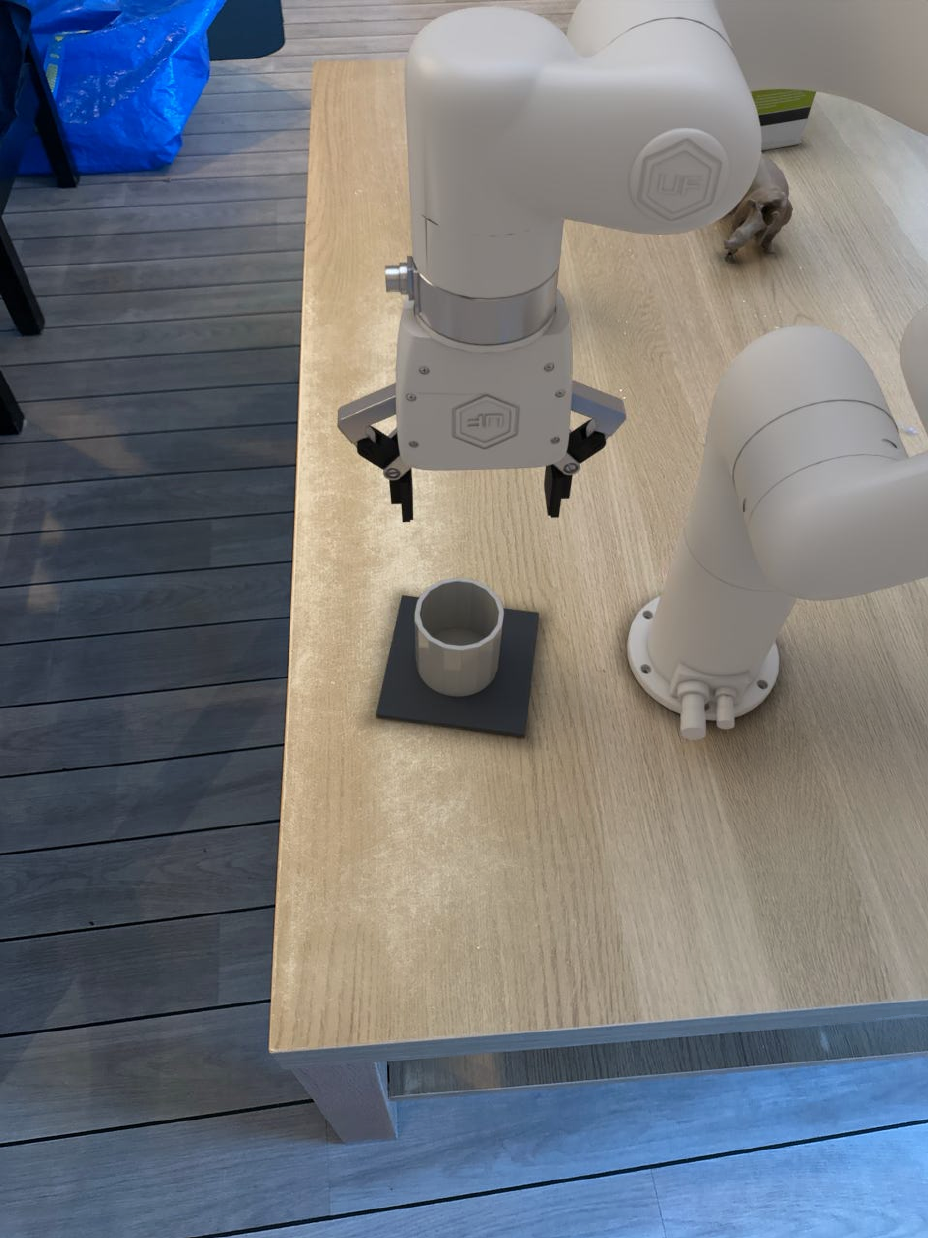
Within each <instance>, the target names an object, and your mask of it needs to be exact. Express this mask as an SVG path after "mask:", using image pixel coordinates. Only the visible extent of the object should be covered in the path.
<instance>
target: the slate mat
mask: <svg viewBox="0 0 928 1238" xmlns="http://www.w3.org/2000/svg"><path fill="white" fill-rule="evenodd" d="M419 598H420V596H412V595H404V594H402V595H401V599H400V602H399V607H398V611H397V616H396V620H395V621H396V622H395V624H394V629H393V634H392V638H391V643H390V647H389V652H388V657H387V662H386V666H385V671H384V674H383V679H382V685H381V688H380V694H379V698H378V702H377V707H376V711H375V717H376V719H383V720H384V719H385V720H392V721H397V722H406V723H413V724H421V725H427V726H435V727H442V728H449V729H456V730H457V729H458V730H464V731H472V732H478V733H485V734H494V735H501V736H508V737H515V738H522V739H524V738H525V736H526V730H527V719H528V712H529V704H530V694H531V686H532V679H533V678H532V677H533V669H534V661H535V652H536V643H537V634H538V627H539V626H538V625H539V616H540V612H536V611H531V610H530V611H529V610H521V609H514V608H513V609H512V608H505V607H503V610H504V618H503V628H502V637H501V647H500V656H499V663H498V670H497V673H496V675H495V677H494V679H493V680H492V681H491V683H490V684H489V685H488V686H487V687H485V688H484V689H483V690H481V691H479V692H477V693H475V694H472V695H468V696H461V697H455V696H448V695H444V694H441V693H439V692H437V691H435V690H433V689H432V688H430V687H429V686H428V685H427V684H426V683H425V682H424V681H423V679H422V678H421V676H420V674H419V672H418V669H417V662H416V649H415V609H416V605H417V601H418V599H419Z"/></svg>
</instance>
